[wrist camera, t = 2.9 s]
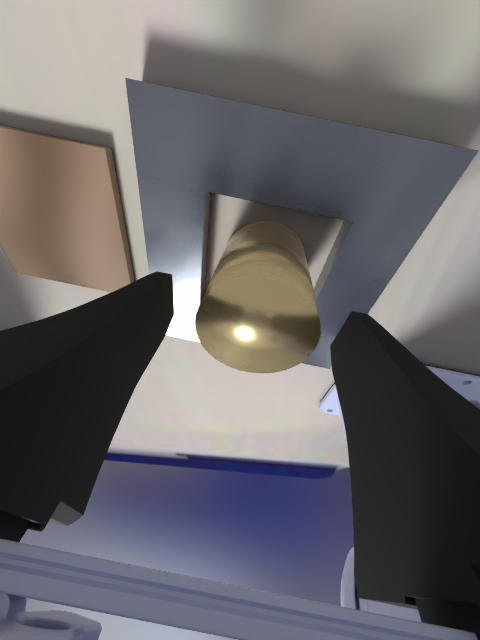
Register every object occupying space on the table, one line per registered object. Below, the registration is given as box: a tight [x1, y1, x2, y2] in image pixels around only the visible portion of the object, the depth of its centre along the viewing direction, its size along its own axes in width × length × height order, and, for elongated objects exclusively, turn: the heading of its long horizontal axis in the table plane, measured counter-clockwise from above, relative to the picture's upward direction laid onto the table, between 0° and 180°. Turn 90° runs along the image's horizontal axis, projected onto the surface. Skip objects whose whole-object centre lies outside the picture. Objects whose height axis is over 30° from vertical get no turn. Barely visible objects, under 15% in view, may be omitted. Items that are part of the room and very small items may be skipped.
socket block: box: [125, 78, 478, 369], centre depth 12 cm, size 13×13×1 cm
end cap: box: [195, 221, 321, 373], centre depth 11 cm, size 5×5×6 cm
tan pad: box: [0, 125, 134, 292], centre depth 13 cm, size 8×8×1 cm
